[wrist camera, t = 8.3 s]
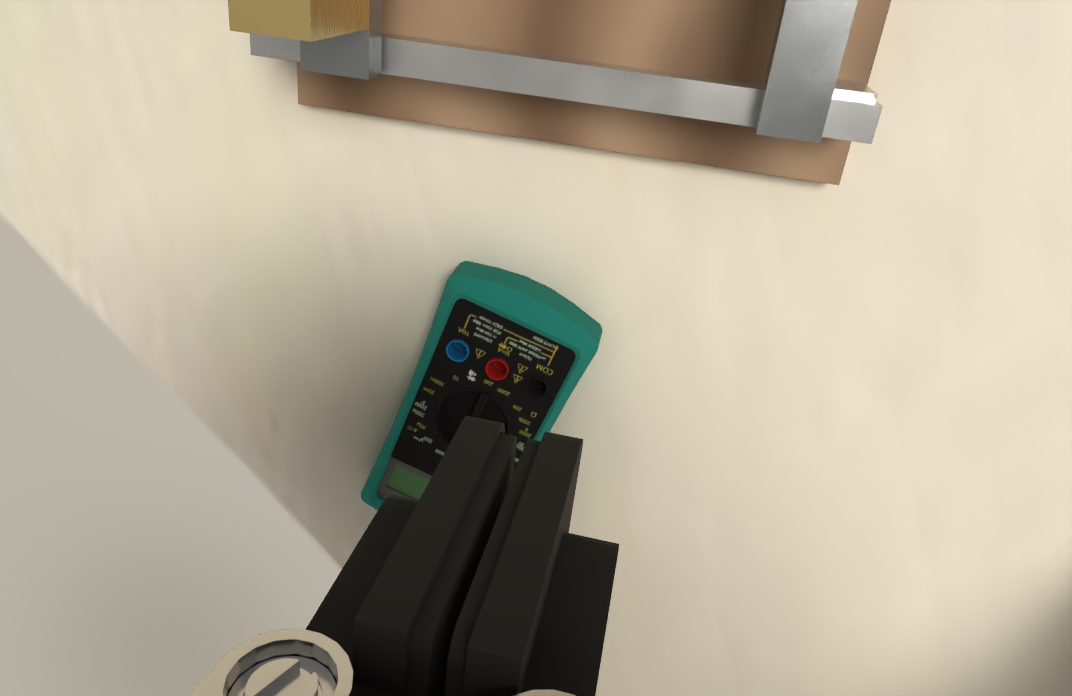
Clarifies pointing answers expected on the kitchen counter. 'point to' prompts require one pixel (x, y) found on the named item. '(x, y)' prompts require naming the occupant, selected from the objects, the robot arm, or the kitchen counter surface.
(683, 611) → the kitchen counter surface
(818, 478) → the kitchen counter surface
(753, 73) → the bolt plate
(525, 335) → the digital multimeter
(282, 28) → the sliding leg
